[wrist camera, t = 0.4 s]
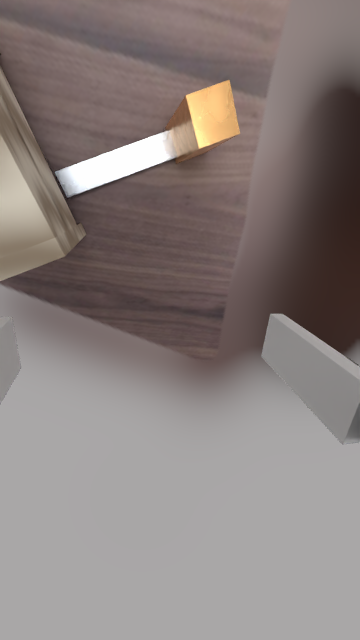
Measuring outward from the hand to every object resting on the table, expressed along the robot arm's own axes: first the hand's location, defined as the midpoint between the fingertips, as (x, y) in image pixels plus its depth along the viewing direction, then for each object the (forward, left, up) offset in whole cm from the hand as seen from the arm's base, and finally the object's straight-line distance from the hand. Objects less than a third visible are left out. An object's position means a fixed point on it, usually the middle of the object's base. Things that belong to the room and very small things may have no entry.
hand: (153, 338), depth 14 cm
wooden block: (-10, +5, -26) cm, 29 cm away
